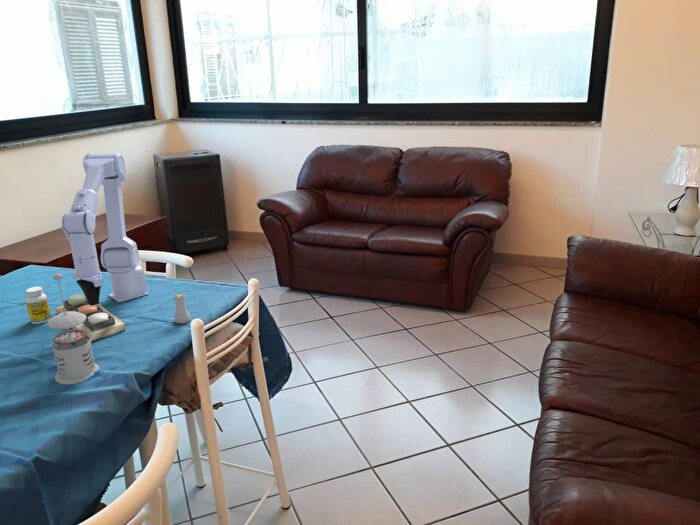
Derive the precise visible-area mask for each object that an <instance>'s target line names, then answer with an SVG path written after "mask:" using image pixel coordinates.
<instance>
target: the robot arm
mask: <svg viewBox="0 0 700 525" xmlns="http://www.w3.org/2000/svg"><path fill="white" fill-rule="evenodd" d="M82 164H83V165H82V167H83V170H84V172H85V178H84V182H83V186H82V189H79V190H78V191H77V192H76V194H75V196H74V199H73V201H72V204H71V207H70V210H69V211H68V212H66V213H64V214H63V216H62V217H61V218H62V219H61V228H62V231H63V233H64V234H65V236H66V240H67V242H69V244H70V249H71V254H72V260H73V265H74V271H75V273H74V274H72V275H71V279H73V280H76V281H75V282H76V284H77V285H78V286H79V287H80V288H81V290H82V292H83V294H85V297H86V299H87V301H88V303H89V305H91V306H93V305H97V304H100V295H101V294H100V293H101V290H102V289H101V288H102V286H104V279H103V278H102V273H101V269H100V264H101V266H102V268H104V269H106V272H109V276H110V277H109V278H110V282H111V288H112V293H108V296H109V298H111V299H112V300H114V301H116V302H117V303H122V302H126V301H129V300H133V299H136V298H139V297H142V296H143V297H144V296H146V295H149V292H148V288H147V282H146V274H145V271H144V269H143V267H142V266H141V265H140V264H139V263H140V253H139V250H138V245H137V243H136V241H134V240H133V239H131V238H129V237H128V236H127V234H126V233H127V232H126V224H125V223H126V221H125V212H124V200H123V198H124V197H123V188H122V182H124V181H126V179H127V173H126V172H127V171H126V162H125V158H124V157H123V155H122V154H121V153H120V152H113V153H112V152H111V153H110V152H109V153H107V152H106V153H86V154H85V155H84V157H83V160H82ZM101 186H103V192H104V193H103V194H104V203H105V204H104V205H105V213H106V223H107V234H108V239H106V240H105V241H104V242H103V243H102V244H101V246H100V247H101V248H100V250H101V251H100V264H99V259H98V258H99V257H98V253H97V248H96V243H95V238H94V232H95V229H96V217H97V216H96V214H95V213H96V211H97V208H98V205H99V202H100V197H99V196H98V193H99V190H100V188H101Z"/></svg>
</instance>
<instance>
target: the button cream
mask: <svg viewBox="0 0 700 525" xmlns="http://www.w3.org/2000/svg"><path fill="white" fill-rule="evenodd" d="M107 319H109V318H108V314H107V313H96V314H93V315H91V316H89V317H88V322H90V323H91V324H94V323H98V322H101V321H104V320H107Z"/></svg>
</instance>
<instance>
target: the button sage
mask: <svg viewBox="0 0 700 525" xmlns="http://www.w3.org/2000/svg"><path fill="white" fill-rule="evenodd" d="M66 300H68V305H70V306H71V307H72V306H75V305H79V304H82V303H86V302H87V299H86V297H85V294H84V293H76V294H73V295H70V296H68V297H67V298H66Z"/></svg>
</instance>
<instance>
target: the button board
mask: <svg viewBox="0 0 700 525" xmlns="http://www.w3.org/2000/svg"><path fill="white" fill-rule="evenodd" d="M63 302H64V307H65V312H69V311H75V312H78V310H77V309H78V308H79V307H81V306H84V305H89V303H88V301H87V302H86V303H82V304H79V305H75V306H72V307H71V306H70V305H68V300H67V299H66V300H63ZM63 302H62V303H63ZM64 307H63V305H59V306H57V307H55V311H56V312H55V313H56V315H57V314H60V313H64ZM97 309H98V310H97V311H94V312H90V313H87V314H85V315H86V320H85V322H83V323H82V324H80V325H78V326H76V329H79V330H81V329H82V330H85V331H86V332H87V336H88V337H89V338H90V341H91V342H93V340H94V341H97V340H99V338H100V339H102V338H106V337H109V336H112V335H115V334H118V333H121V332H120V331H122V332H124V331H123V330H125V331H126V326H125V322H123V321H122V320H120V319H119V318H118V317H117V316H115V315H114V314H113V313H111V312H110V311H109V310H107V309H106V308H105V307H104V306H102V305H101V304H100V303H99V304H97ZM96 313H107V314H108V318H109V319H107V320H104V321H101V322H98V323H94V324H91V323H90V322H88V317H89V316H91V315H93V314H96ZM71 329H72V330H74V329H75V327H72V328H71ZM117 332H118V333H117ZM114 333H115V334H114ZM111 334H112V335H111ZM108 335H109V336H108ZM96 339H97V340H96ZM88 341H89V340H86V341H85V342H86V343H87V342H88Z"/></svg>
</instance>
